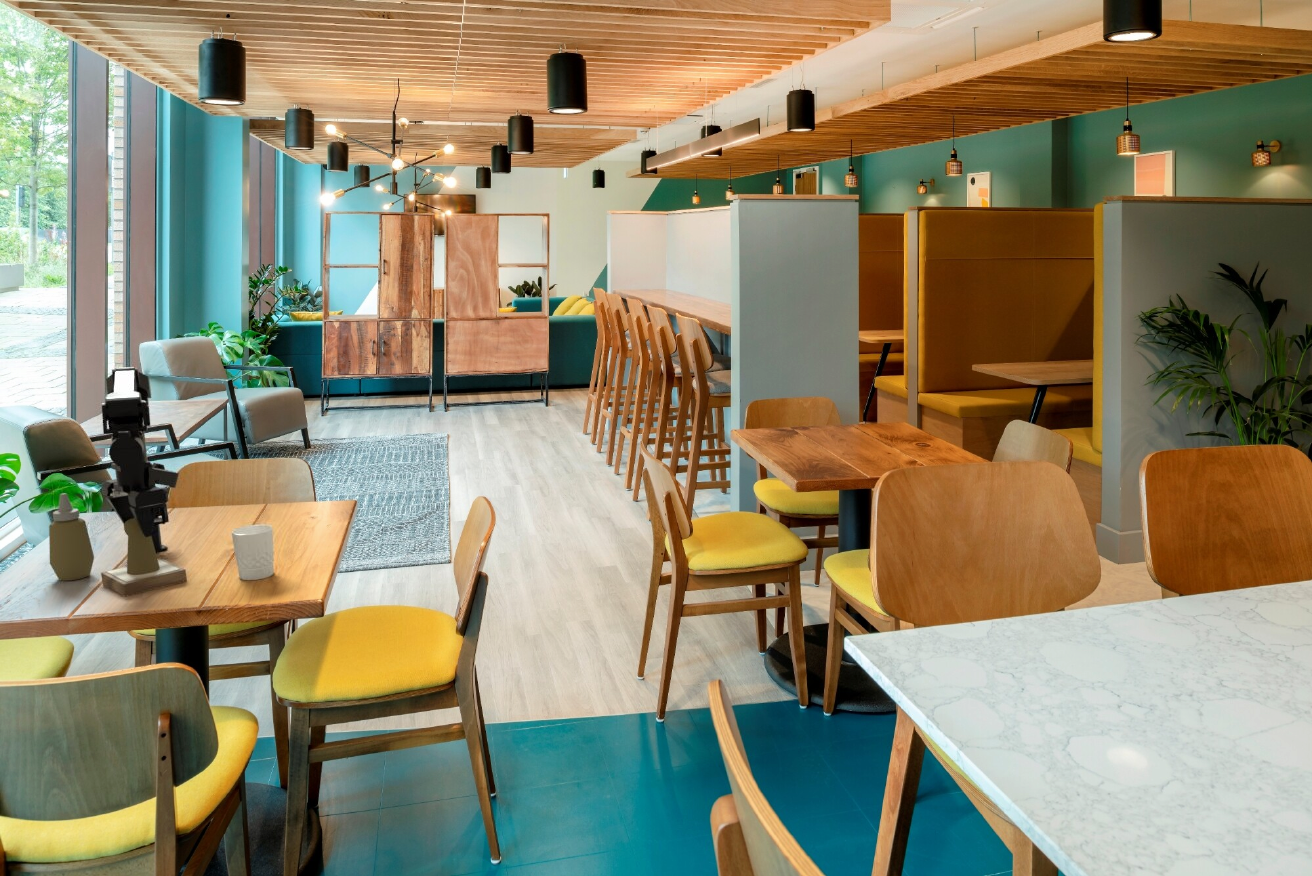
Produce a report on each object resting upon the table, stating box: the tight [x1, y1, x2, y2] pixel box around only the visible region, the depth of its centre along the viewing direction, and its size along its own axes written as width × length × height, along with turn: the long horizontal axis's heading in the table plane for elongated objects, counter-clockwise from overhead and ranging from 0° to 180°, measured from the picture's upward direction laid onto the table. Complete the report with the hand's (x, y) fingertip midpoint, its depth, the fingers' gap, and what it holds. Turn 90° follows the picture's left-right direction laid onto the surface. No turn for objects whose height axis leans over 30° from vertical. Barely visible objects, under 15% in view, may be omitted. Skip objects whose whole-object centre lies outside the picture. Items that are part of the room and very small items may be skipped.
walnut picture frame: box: [100, 558, 188, 597], centre depth 200 cm, size 12×12×3 cm
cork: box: [123, 518, 160, 575], centre depth 199 cm, size 6×6×11 cm
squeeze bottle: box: [48, 493, 95, 581], centre depth 203 cm, size 8×8×18 cm
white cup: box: [231, 524, 275, 581], centre depth 202 cm, size 8×8×10 cm
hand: (138, 532), depth 198 cm, fingers open, 9 cm apart
